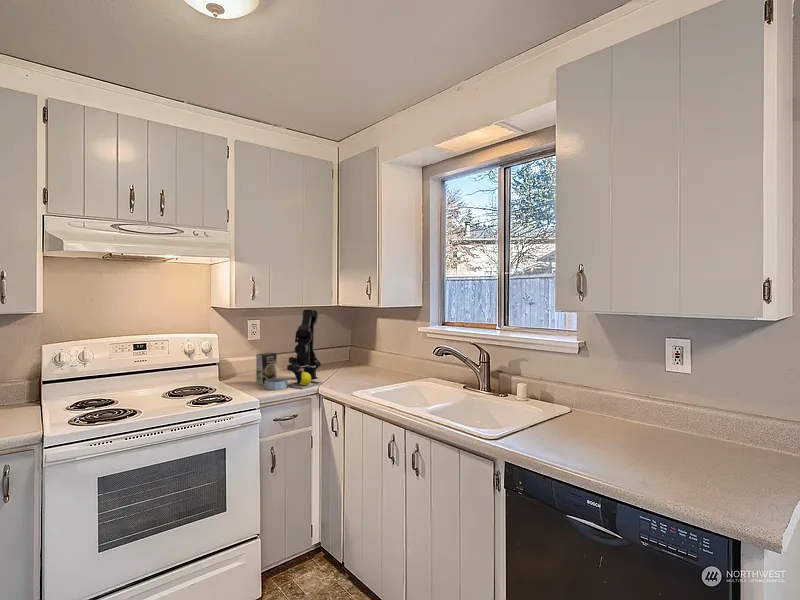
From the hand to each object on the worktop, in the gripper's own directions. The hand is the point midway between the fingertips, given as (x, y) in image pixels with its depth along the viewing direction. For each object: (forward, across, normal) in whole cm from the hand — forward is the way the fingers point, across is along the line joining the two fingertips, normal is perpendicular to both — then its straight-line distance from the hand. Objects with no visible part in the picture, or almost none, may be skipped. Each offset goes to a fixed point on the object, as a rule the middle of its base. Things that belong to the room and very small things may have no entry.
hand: (304, 381), depth 244 cm
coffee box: (+2, +8, -21) cm, 23 cm away
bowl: (+2, +13, -7) cm, 15 cm away
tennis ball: (+2, 0, 0) cm, 2 cm away
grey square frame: (+2, 0, 0) cm, 2 cm away
